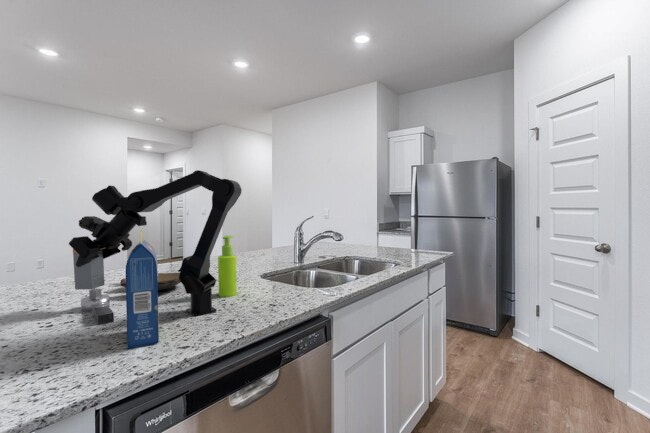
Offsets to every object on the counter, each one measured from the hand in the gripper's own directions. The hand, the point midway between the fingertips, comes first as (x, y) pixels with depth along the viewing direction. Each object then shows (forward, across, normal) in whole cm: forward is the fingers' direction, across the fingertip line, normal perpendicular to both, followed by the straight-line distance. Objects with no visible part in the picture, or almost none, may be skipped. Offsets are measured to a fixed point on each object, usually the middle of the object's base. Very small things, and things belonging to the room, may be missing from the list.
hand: (84, 264), depth 97 cm
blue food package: (-10, +18, +30) cm, 37 cm away
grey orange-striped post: (+4, 0, +6) cm, 7 cm away
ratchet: (+5, +3, +14) cm, 15 cm away
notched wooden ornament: (+5, -26, +14) cm, 30 cm away
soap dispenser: (-16, -18, +35) cm, 43 cm away
